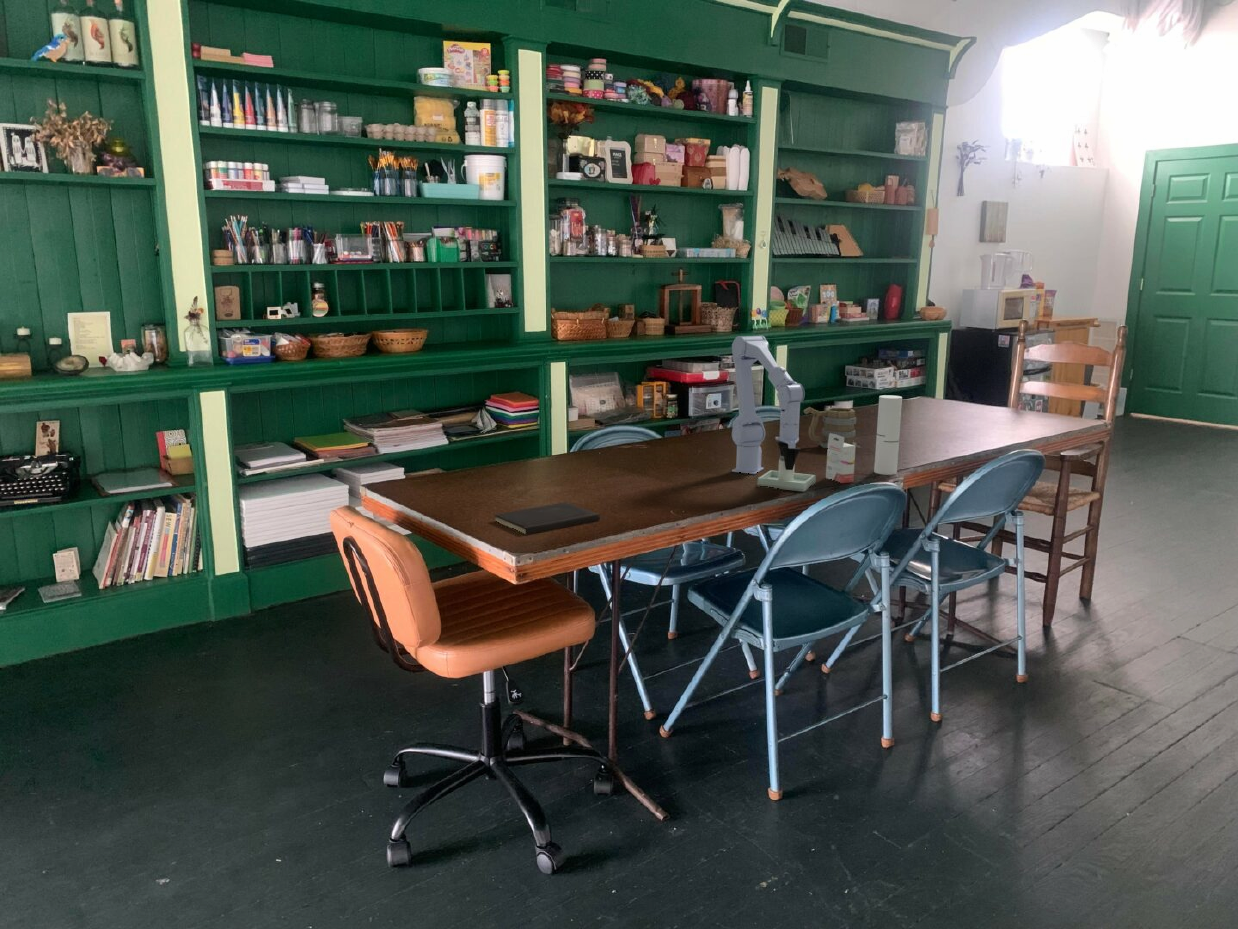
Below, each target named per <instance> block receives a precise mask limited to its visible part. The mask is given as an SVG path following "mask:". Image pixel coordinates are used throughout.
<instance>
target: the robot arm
mask: <svg viewBox="0 0 1238 929" xmlns="http://www.w3.org/2000/svg"><path fill="white" fill-rule="evenodd" d="M731 352H732V361H733V364H734V373H735V383H736V384H735V385H736V396H737V405H738V406H737V407H738V414H739V415H738V416H737V417H736V418H735V419H734V420H733V421H732V429H731V430H732V431H731V438H732V442H733V443H734V444H735V445H736V461H735V462H736V467H735V468H733V469H732V470H731V472H733V473H739V472H741V474H748V473H749V474H751V475H756V474H758V473H759V472H761V471H763V470H764V467H762V453H763V452H762V448H761V446H760V445H762V442H764V440H765V437H766V429H765V427H764V423H763V418H761V417H760V416H758V415H757V413H756V412H757V411H756V404H755V395H754V382H753V373H752V372H753V371H752V366H753V365H754V363H756V362H757V361H758V362H759V363H760V364H761V365H762V366H763V367H764V369H765V370H766V371H767V372H768V374H767V378H768V380H769V381H770V383H771V384H772V385H773V387H774V388H775V390H776V391H777V393H776V396H777V400H778V403H779V404H778V407H779V409H780V416H779V436H775V438H774V439H775V441H777V442H776V443H777V445H778V448H779V452H780V456H782V455H784V461H785V468H786V470H793V468H794V469H795V466H794V464H795V463H796V459H797V457H798V455H799V453H800V451H801V448H800V447H796V444H797V443H798V442H799V440H800V437H799V432H800V431H799V430H800V415H801V414H800V411H801V402H803V401H804V399H805V394H806V392H805V391H806V390H805V388H804V387H803V384H801V383H800V382H799V383H798V382H797V381H794V380H793V378H792V377H791V376H790V374H789V373H788V371H787V370H786V368H785V367H783V366H779V365H778V364H777V362H776V360H775V358H774V357H773V355H772V353H771V352H770V350H769V341H768V340H767V338H766V337H765V336H764V335H761V334H760V335H751V336H750V335H749V336H748V335H747V336H745V335H744V336H743V335H741V336H740V335H738V336H736V337H735V338H734V340H733V342H732V344H731ZM757 472H758V473H757Z"/></svg>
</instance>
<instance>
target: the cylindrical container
mask: <svg viewBox="0 0 1238 929" xmlns="http://www.w3.org/2000/svg"><path fill="white" fill-rule="evenodd" d="M902 402H903V397H902V396H900V395H893V394H892V395H889V394H888V395H886V394H884V395H879V397H878V410H877V424H876V439H875V454H874V469H873V471H874V473H875V474H879V475H883V476H886V475H888V476H892V475H897V474H898V462H899V449H900V448H899V446H900V433H901V419H902V406H903V403H902Z"/></svg>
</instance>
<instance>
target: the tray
mask: <svg viewBox="0 0 1238 929" xmlns="http://www.w3.org/2000/svg"><path fill="white" fill-rule="evenodd" d="M816 479H817V476H816V474H807V473H799V472H798V473H797V472H794V482H792V481H783V480H778V470H768V471H767V472H766V473H764V474H763V475H761V476H759V477H758V478H757V486H758V485H761V486H768V487H767V488H769V487H774V488H773V489H777V488H779V489H778V490H787V491H796V492H802V493H803V492H805V491H807V490H808V489H810V488H811V487H812V486H813V485H814V484H816ZM811 485H812V486H811ZM810 486H811V487H810ZM809 487H810V488H809Z"/></svg>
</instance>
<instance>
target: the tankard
mask: <svg viewBox="0 0 1238 929" xmlns="http://www.w3.org/2000/svg"><path fill="white" fill-rule="evenodd" d="M803 413H804V414H805V415H808V414H811V415H812V417H811V418H812V419H811V423H810V425H809V427H808V437H809V438H810V440H811V441H812V442H815V443H819V446H820V447H822V449H826V448H828V440H829V434H830V433H832V434H835V435H839V436H842V437H844V443H847V444H850V445H854V446H855V449H857V448H858V447H857V446H858V444H857V442H855V441H854V438H855V437H856V432H857V431H856V429H855V425H856V424H857V417H856V410H854V409H852V408H846V407H829V408H825V409H824V411H819V410H816V409H814V408H813V407H811V406H809V407H807V408H805V409H803ZM819 417H822V422H823V423H824V424H823V426H824V427H823V428H821V435H823V436H817V435H816V433H815V432H816V428H817V426H818V423H819ZM834 440H836V441H839V439H837V438H834Z"/></svg>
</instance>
